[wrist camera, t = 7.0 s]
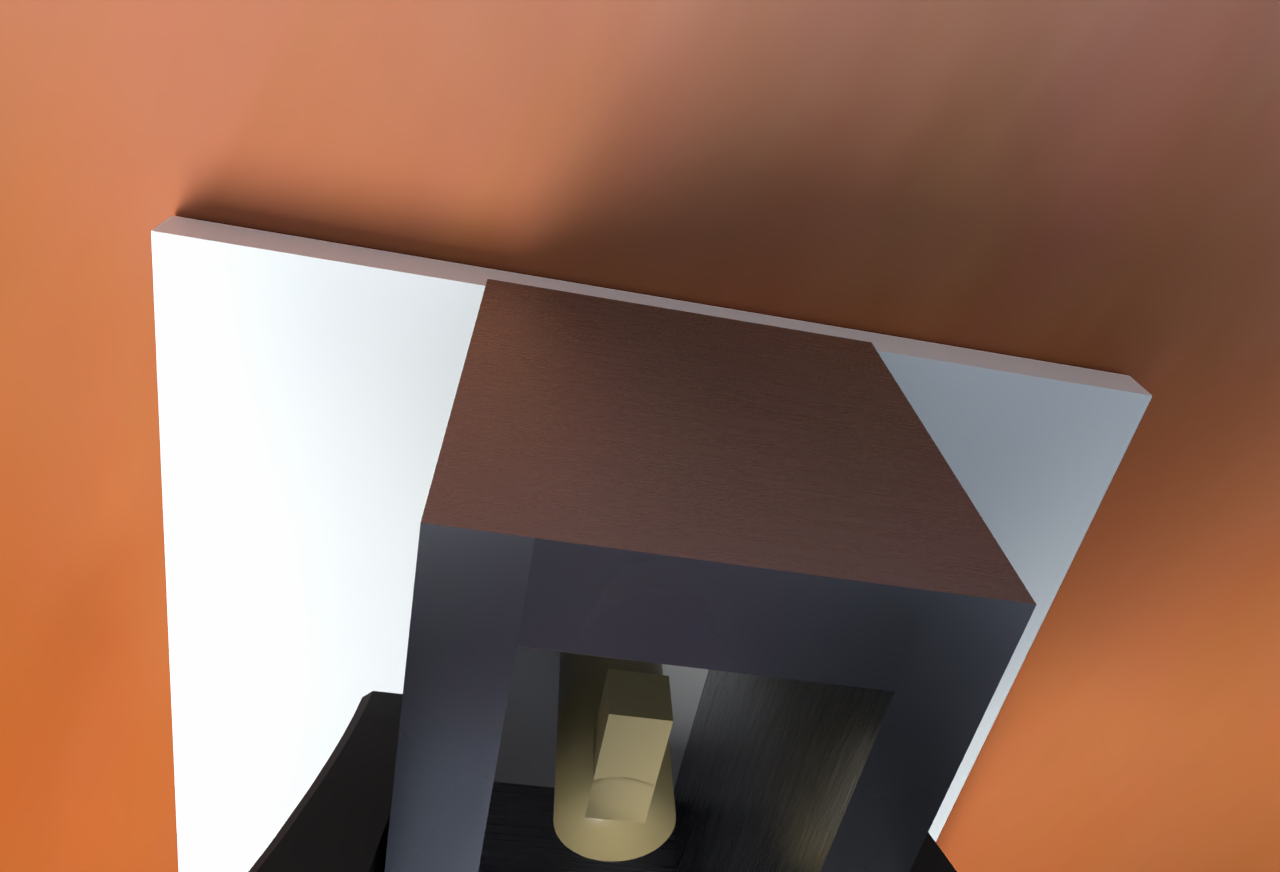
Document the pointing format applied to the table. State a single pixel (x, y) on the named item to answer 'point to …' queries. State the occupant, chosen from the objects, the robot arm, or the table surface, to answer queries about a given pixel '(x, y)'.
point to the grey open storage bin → (698, 587)
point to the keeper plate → (394, 504)
